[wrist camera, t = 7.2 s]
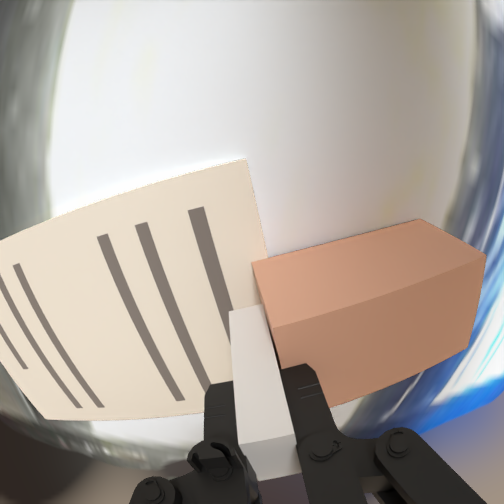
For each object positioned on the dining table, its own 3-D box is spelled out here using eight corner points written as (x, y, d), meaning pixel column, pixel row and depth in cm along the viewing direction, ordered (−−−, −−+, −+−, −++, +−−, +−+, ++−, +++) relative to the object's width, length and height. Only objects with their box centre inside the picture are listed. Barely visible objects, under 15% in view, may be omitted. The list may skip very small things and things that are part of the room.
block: (272, 328, 9) (486, 255, 9) (251, 262, 14) (420, 218, 14) (292, 418, 11) (467, 347, 11) (271, 345, 16) (417, 298, 16)
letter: (-48, 264, 12) (-51, 266, 12) (245, 158, 12) (246, 158, 12) (46, 416, 18) (45, 419, 17) (295, 390, 18) (296, 394, 17)
